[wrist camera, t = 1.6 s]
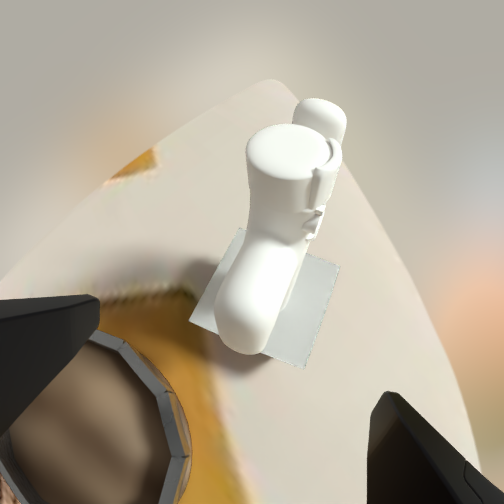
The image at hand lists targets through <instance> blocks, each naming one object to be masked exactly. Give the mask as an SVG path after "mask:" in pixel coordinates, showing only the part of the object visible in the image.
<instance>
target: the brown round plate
mask: <svg viewBox="0 0 504 504" xmlns="http://www.w3.org/2000/svg"><path fill="white" fill-rule="evenodd" d="M140 355H141V356H142V357H143V358H144V359H145V361H146V362H147V363H148V364H149V365H150V366H151V368H152V369H153V370H154V371H155V372H156V373H157V374H158V375H159V377H160V378H161V379H162V380H163V381H164V382H165V383H166V384H167V385H168V387H169V388H170V389H171V390H172V391H173V392H174V390H173V389H172V387H171V386H170V384H169V382H168V381H167V380H166V378H165V377H164V376H163V375H162V373H161V372H160V371H159V370H158V369H157V368H156V367H155V366H154V365H153V364H152V363H151V362H150V361H149V360H148V359H147V358H146V357H144V356H143V355H142V354H141V353H140ZM173 394H175V396H176V400H177V404H178V408H179V412H180V415H181V419H182V423H183V426H184V430H185V433H186V437H187V440H188V444H189V447H190V450H191V453H189V454H190V455H191V457H190V460H189V464H188V467H187V471H186V475H185V478H184V482H183V485H182V489H181V492H180V496H179V499H178V502H179V500H180V498H181V497H182V495H183V493H184V491H185V489H186V486H187V483H188V480H189V476H190V471H191V466H192V444H191V435H190V431H189V426H188V422H187V419H186V416H185V413H184V410H183V408H182V406H181V404H180V401H179V399H178V397H177V395H176V393H175V392H174V393H173ZM9 431H10V437H11V442H12V447H13V452H14V456H15V460H16V461H17V463H18V464H19V466H20V468H21V469H22V471H23V472H24V474H25V475H26V477H27V478H28V480H29V481H30V483H31V484H32V486H33V487H34V488H35V490H36V491H37V493H38V494H39V495H40V497H41V498H42V499H43V500H45V501H46V502H48V503H49V504H159V500H160V496H161V493H162V489H163V485H164V482H165V478H166V475H167V471H168V467H169V464H170V460H171V457H172V455H171V452H170V448H169V445H168V441H167V438H166V434H165V431H164V427H163V423H162V419H161V415H160V411H159V407H158V403H157V399H156V396H155V395H154V394H153V393H152V391H151V390H150V389H149V388H148V387H147V386H146V385H145V383H144V382H143V381H142V380H141V379H140V377H139V376H138V375H137V374H136V373H135V371H134V370H133V369H132V368H131V367H130V365H129V364H128V363H127V362H126V360H125V359H124V358H123V357H122V355H121V354H118V353H116V352H113V351H111V350H108V349H106V348H103V347H101V346H99V345H96V344H94V343H92V342H89V341H87V342H86V343H85V344H84V345H83V347H82V348H81V349H80V351H79V352H78V353H77V354H76V356H75V357H74V358H73V359H72V360H71V361H70V363H69V364H68V365H67V366H66V367H65V368H64V369H63V370H62V371H61V372H60V373H59V374H58V375H57V376H56V377H55V378H54V379H53V380H52V381H51V382H50V383H49V385H48V386H47V387H46V388H45V389H44V390H43V391H42V392H41V393H40V394H39V395H38V396H37V397H36V399H35V400H34V401H33V402H32V403H31V404H30V405H29V406H28V407H27V408H26V409H25V411H24V412H23V413H22V414H21V415H20V416H19V417H18V418H17V419H16V421H15V422H14V423H13V424H12V425H11V426H10V427H9ZM177 504H178V503H177Z"/></svg>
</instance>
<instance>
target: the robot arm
mask: <svg viewBox="0 0 504 504" xmlns="http://www.w3.org/2000/svg"><path fill="white" fill-rule="evenodd" d="M99 321H100V301H99V299H98V298H96V297H94V296H92V295H89V294H83V295H70V296H56V297H41V298H26V299H9V300H0V438H1V437H2V435H3V434H4V433H5V432H6V431H7V430H8V429H9V427H10V426H11V425H12V424H13V423H14V422H15V421H16V419H17V418H18V417H19V416H20V415H21V414H22V413H23V412H24V411H25V409H26V408H27V407H28V406H29V405H30V404H31V403H32V402H33V401H34V400H35V399H36V397H37V396H38V395H39V394H40V393H41V392H42V391H43V390H44V389H45V388H46V387H47V386H48V385H49V383H50V382H51V381H52V380H53V379H54V378H55V377H56V376H57V375H58V374H59V373H60V372H61V371H62V370H63V369H64V368H65V367H66V366H67V365H68V364H69V363H70V361H71V360H72V359H73V358H74V357H75V356H76V354H77V353H78V352H79V351H80V349H81V348H82V347H83V345H84V344H85V343H86V342H87V340H88V339H89V338H90V337H91V335H92V334H93V333H94V331H95V330H96V329H97V327H98V325H99ZM465 460H466V459H465V458H464V457H463V456H462V455H461V454H460V453H459V452H458V451H457V450H456V449H455V448H454V447H453V446H452V445H451V444H450V443H449V442H448V441H447V440H446V439H445V438H444V437H443V436H442V435H441V434H440V433H439V432H438V431H436V430H435V429H434V428H433V427H432V426H431V425H430V424H429V423H428V422H427V421H426V420H425V419H424V418H423V417H422V416H421V415H420V414H419V413H418V412H417V411H416V410H415V409H414V408H413V407H412V406H411V405H410V404H409V403H408V402H407V401H406V400H405V399H404V398H403V397H402V396H401V395H400V394H398V393H396V392H390V391H386V392H384V393H383V394H382V396H381V398H380V399H379V401H378V403H377V404H376V406H375V408H374V409H373V411H372V413H371V417H370V430H369V442H368V452H367V504H504V493H503V492H502V491H501V490H499V489H498V488H497V487H496V486H494V485H493V484H492V483H491V482H490V481H489V480H487V479H486V478H485V477H484V476H483V475H482V474H481V473H480V472H479V471H478V470H477V469H476V468H474V467H473V466H472V465H471V464H470V463H469V462H468V461H467V460H466V461H465Z"/></svg>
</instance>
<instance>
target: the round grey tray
mask: <svg viewBox="0 0 504 504" xmlns="http://www.w3.org/2000/svg"><path fill="white" fill-rule="evenodd" d="M87 341H89V342H92V343H94V344H96V345H99V346H101V347H103V348H106V349H108V350H111V351H113V352H116V353H118V354H121V355H122V357H123V358H124V359H125V360H126V362H127V363H128V364H129V365H130V367H131V368H132V369H133V370H134V371H135V373H136V374H137V375H138V376H139V377H140V379H141V380H142V381H143V382H144V383H145V385H146V386H147V387H148V388H149V389H150V390H151V391H152V393H153V394H154V395H155V396H156V399H157V403H158V407H159V411H160V415H161V419H162V423H163V427H164V431H165V434H166V438H167V441H168V445H169V448H170V452H171V455H172V457H171V460H170V464H169V467H168V471H167V475H166V478H165V482H164V485H163V489H162V493H161V496H160V500H159V504H177V503H178V499H179V496H180V492H181V489H182V485H183V482H184V478H185V475H186V471H187V467H188V464H189V460H190V457H191V455H190V454H189V453H191V450H190V447H189V444H188V440H187V437H186V433H185V430H184V426H183V423H182V419H181V415H180V412H179V408H178V404H177V400H176V396H175V394H173V393H174V392H173V391H172V390H171V389H170V388H169V387H168V385H167V384H166V383H165V382H164V381H163V380H162V379H161V378H160V377H159V375H158V374H157V373H156V372H155V371H154V370H153V369H152V368H151V366H150V365H149V364H148V363H147V362H146V361H145V359H144V358H143V357H142V356H141V355H140V353H139V352H138V351H137V350H136V349H135V348H134V347H133V346H131V345H130V344H129V343H127V342H126V341H125V340H123V339H120V338H117V337H115V336H112V335H109V334H107V333H104V332H102V331H99V330H97V329H96V330H95V331H94V333H93V334H92V335H91V337H90V338H89V339H88V340H87ZM0 472H1V474H2V476H3V477H4V479H5V480H6V482H7V484H8V485H9V487H10V488H11V490H12V491H13V493H14V494H15V496H16V497H17V499H18V500H19V502H20V503H21V504H49V503H48V502H46V501H45V500H43V499H42V498H41V497H40V495H39V494H38V493H37V491H36V490H35V488H34V487H33V486H32V484H31V483H30V481H29V480H28V478H27V477H26V475H25V474H24V472H23V471H22V469H21V468H20V466H19V464H18V463H17V461H16V460H15V456H14V452H13V447H12V442H11V437H10V431H9V429H8V430H7V431H6V432H5V433H4V434H3V435H2V437H1V438H0Z"/></svg>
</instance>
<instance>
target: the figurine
mask: <svg viewBox="0 0 504 504" xmlns="http://www.w3.org/2000/svg"><path fill="white" fill-rule="evenodd" d="M345 129H346V117H345V114H344V112H343V111H342V110H341V109H340V108H339V107H338V106H337V105H335V104H333V103H331V102H328V101H326V100H322V99H316V98H309V99H305V100H302V101H301V102H300V103H298V104H297V106H296V108H295V111H294V114H293V120H292V124H277V125H272V126H269V127H266V128H263V129H261V130H259V131H258V132H257V133H255V134H254V135H253V136H252V137H251V138H250V139H249V141H248V143H247V146H246V161H247V171H248V181H249V188H250V211H249V218H248V224H247V230H244V229H242V228H239V229H238V231H237V233H236V235H235V236H234V238H233V240H232V242H231V244H230V245H229V247H228V249H227V251H226V253H225V254H224V256H223V258H222V260H221V262H220V263H219V265H218V267H217V269H216V271H215V273H214V274H213V276H212V278H211V280H210V282H209V284H208V285H207V287H206V289H205V291H204V293H203V295H202V297H201V298H200V300H199V302H198V304H197V306H196V308H195V310H194V311H193V313H192V315H191V317H190V319H189V321H190V322H192V323H194V324H196V325H198V326H201V327H203V328H205V329H207V330H209V331H211V332H214V333H216V334H218V335H219V336H220V338H221V340H222V341H223V343H224V344H225V345H226V346H227V347H229V348H230V349H232V350H234V351H236V352H238V353H241V354H246V355H254V354H257V353H259V352H260V353H263V354H265V355H268V356H270V357H272V358H275V359H278V360H280V361H283V362H285V363H288V364H290V365H293V366H296V367H298V368H301V369H305V366H306V363H307V361H308V358H309V356H310V353H311V350H312V348H313V345H314V342H315V340H316V337H317V334H318V331H319V328H320V326H321V323H322V320H323V317H324V314H325V311H326V308H327V306H328V303H329V300H330V297H331V294H332V291H333V287H334V284H335V281H336V278H337V275H338V272H339V269H340V266H339V265H336V264H334V263H331V262H329V261H326V260H323V259H321V258H318V257H316V256H313V255H310V254H308V253H306V251H307V248H308V245H309V243H310V241H313V240H315V238H316V235H317V232H318V230H319V227H320V224H321V221H322V219H323V216H324V209H325V204H326V202H327V200H328V199H329V198H330V196H331V193H332V190H333V187H334V184H335V180H336V177H337V174H338V171H339V168H340V164H341V161H342V151H341V143H342V140H343V136H344V133H345Z"/></svg>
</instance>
